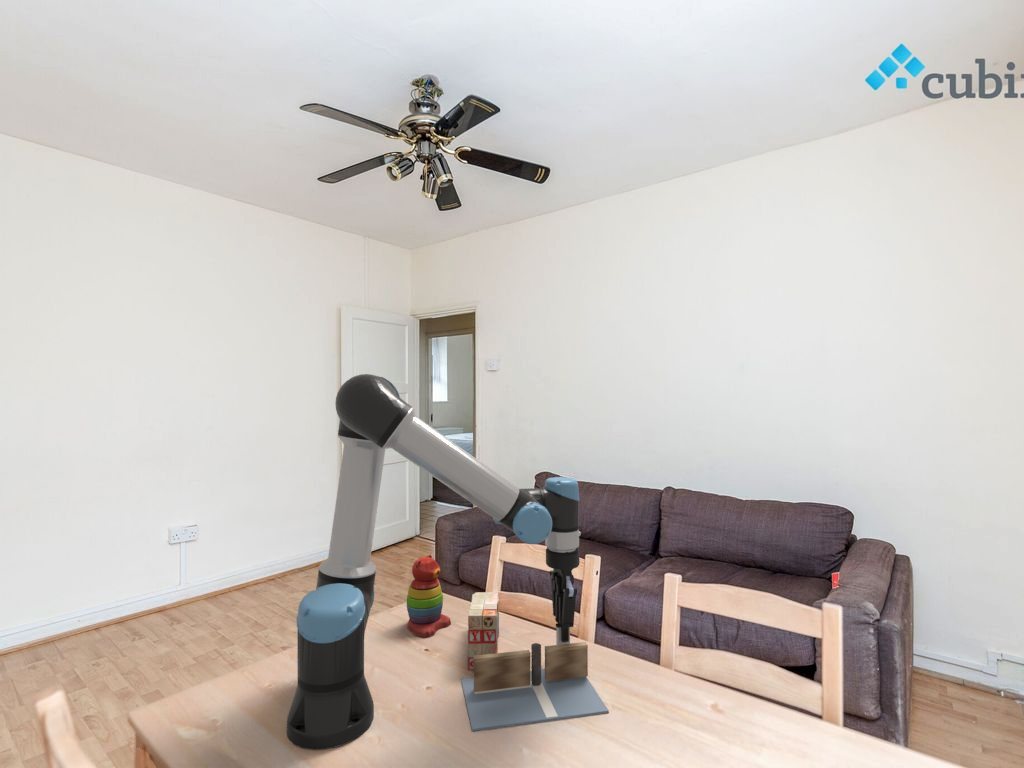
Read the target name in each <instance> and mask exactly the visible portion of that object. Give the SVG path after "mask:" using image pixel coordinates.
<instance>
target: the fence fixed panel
mask: <svg viewBox="0 0 1024 768" xmlns="http://www.w3.org/2000/svg"><path fill="white" fill-rule="evenodd" d="M530 647H531V650H530V649H525V650H517V651H516V650H515V651H507V652H505V651H504V652H498V653H496V654H486V655H477V656H474V671H473V678H474V692H480V691H488V690H496V689H504V688H513V687H521V686H529V685H531V679H530V671H532V685H534V686H539V685H541V670H542V644H540V643H538V642H535V643H531V646H530Z"/></svg>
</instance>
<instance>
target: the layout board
mask: <svg viewBox="0 0 1024 768" xmlns="http://www.w3.org/2000/svg"><path fill="white" fill-rule="evenodd" d="M530 679H531V685H529V686H521V687H513V688H504V689H496V690H488V691H480V692H474V677H468V678H462V679H461V680H460V682H461V686H462V690H463V695H464V699H465V705H466V708H467V714H468V717H469V718H468V719H469V722H470V723H469V724H470V727H471V732H478V731H479V732H480V731H486V730H491V729H493V730H494V729H499V728H500V729H502V728H508V727H515V726H522V725H523V726H524V725H528V724H536V723H543V722H544V723H545V722H551V721H558V720H565V719H574V718H580V717H588V716H595V715H596V716H597V715H602V714H608V713H610V712H609V711H610V710H609V708H608V707H607V706H606V704H605V703H604V701H603V700H602V698H601V696H600V695H599V694H598V692H597V691H596V688H594V686H593V685H592V683H591V681H590V680H589V678H588V676H587V677H579V678H570V679H562V680H554V681H546V679H545V668H543V669H541V685H539V686H534V685H532V670H530Z"/></svg>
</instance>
